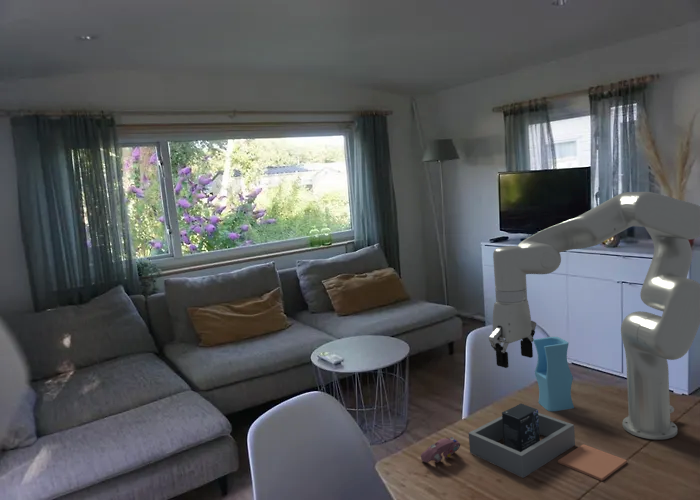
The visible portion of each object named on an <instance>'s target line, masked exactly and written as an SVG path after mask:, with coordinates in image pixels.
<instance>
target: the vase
mask: <svg viewBox="0 0 700 500" xmlns="http://www.w3.org/2000/svg"><path fill="white" fill-rule="evenodd" d="M533 339H534V340H533V344H534V346H535V347H534V348H535V349H536V353H537V354H536V355H537V362H536V366H535V369H534V376H535V378H536V381H537V384H538V392H539V394H538V395H539V396H538V404H539V405H540V406H542V407H543V408H544V409H545V410H546V411H548V412H558V411H566V410H572V409H575V407H574V403H573V400H572V385H573V379H574V378H573V375H572V374H573V373H572V371H571V369H570V367H569V363H568V356H567V355H568V348H569V343H570V342H569V341H566V340H565V339H563V338H561V337H558V336H549V337H542V338H541V337H540V338H533Z"/></svg>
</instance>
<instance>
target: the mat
mask: <svg viewBox="0 0 700 500" xmlns="http://www.w3.org/2000/svg"><path fill="white" fill-rule="evenodd" d="M557 463H558V464H560V465H563V466H565V467H568V468H570V469H573V471H574V470H575V471H577V472H580V473H582V474H584V475H587V476H590V477H591V478H594V479H596V480H598V481H604V480H606V479H607V478H608V477H609V476H611V475H613V474H614V473H616V471H618V470H619V469H620V468H622V467H624V465H626V464H627V463H628V460H627V459H625V458H623V457H620V456H616V455H614V454H611V453H609V452H606V451H603V450H601V449H597V448H595V447H593V446H590V445H587V444H584V443H583V444H581V445H579V446H578V447H577V448H575V449H573V450H572V451H570V452H568V453H567V454H566V455H564V456H563V457H561V458H560V459H558V460H557Z"/></svg>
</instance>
